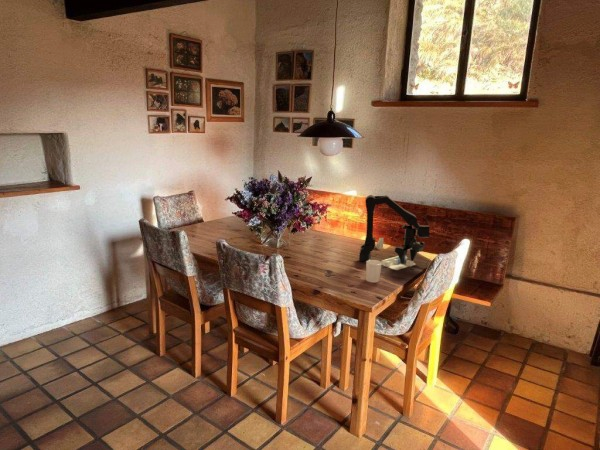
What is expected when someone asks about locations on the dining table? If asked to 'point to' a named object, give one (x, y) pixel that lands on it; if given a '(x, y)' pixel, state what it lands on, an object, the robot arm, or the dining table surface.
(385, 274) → the dining table surface
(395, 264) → the backplate with stepped blocks
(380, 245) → the architectural model
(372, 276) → the white cup
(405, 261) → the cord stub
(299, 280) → the dining table surface
